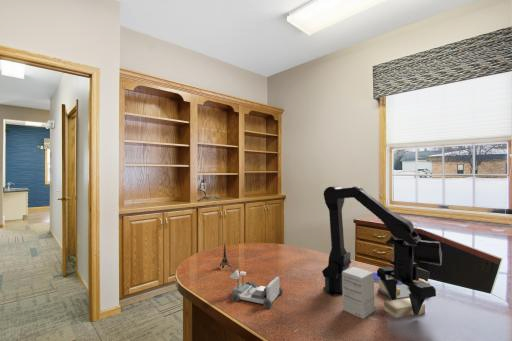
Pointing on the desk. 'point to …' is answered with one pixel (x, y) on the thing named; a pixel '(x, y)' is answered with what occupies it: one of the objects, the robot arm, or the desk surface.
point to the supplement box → (358, 291)
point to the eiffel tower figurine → (224, 259)
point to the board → (401, 307)
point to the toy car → (256, 290)
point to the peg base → (399, 289)
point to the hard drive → (379, 278)
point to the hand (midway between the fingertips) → (404, 307)
